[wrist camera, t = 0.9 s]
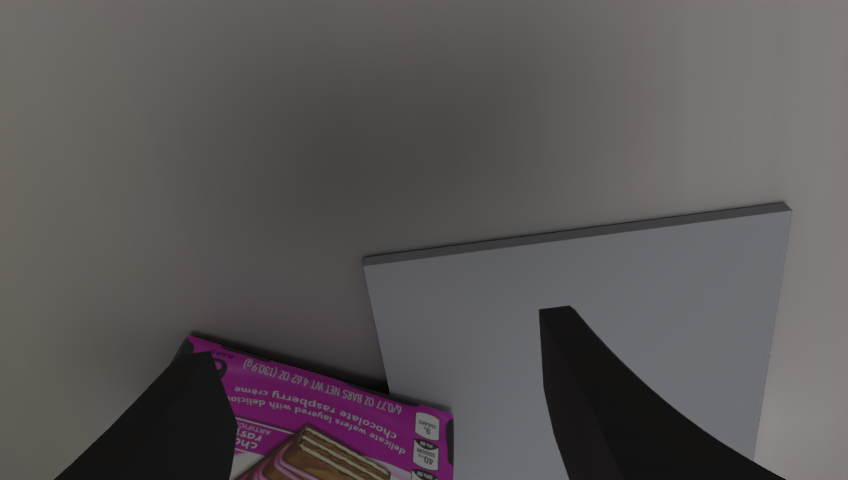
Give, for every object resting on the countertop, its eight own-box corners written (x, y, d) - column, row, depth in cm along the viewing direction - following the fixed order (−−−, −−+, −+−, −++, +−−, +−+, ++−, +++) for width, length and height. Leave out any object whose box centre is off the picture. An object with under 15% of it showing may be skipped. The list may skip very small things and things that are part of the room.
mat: (414, 498, 31) (414, 509, 30) (363, 257, 24) (362, 266, 24) (745, 459, 30) (751, 470, 30) (783, 202, 24) (792, 210, 23)
